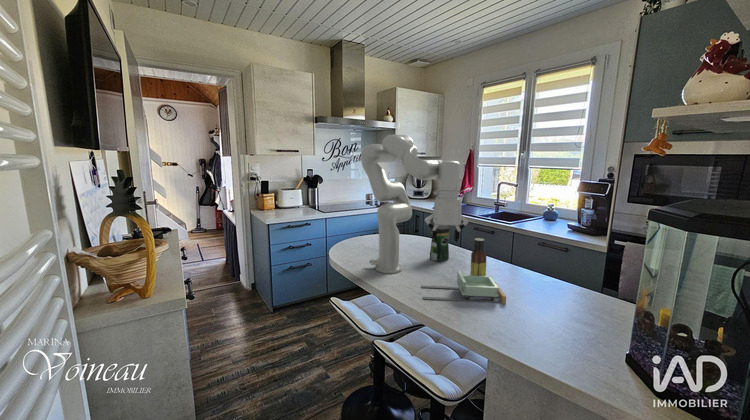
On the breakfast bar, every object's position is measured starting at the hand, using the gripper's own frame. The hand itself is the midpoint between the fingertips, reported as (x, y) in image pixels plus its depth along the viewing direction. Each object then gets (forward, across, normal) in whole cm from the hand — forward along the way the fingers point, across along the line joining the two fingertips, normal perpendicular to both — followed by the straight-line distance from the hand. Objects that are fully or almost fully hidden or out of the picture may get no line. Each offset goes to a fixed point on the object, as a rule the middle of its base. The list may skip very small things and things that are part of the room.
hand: (445, 240), depth 115 cm
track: (+22, +7, 0) cm, 23 cm away
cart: (+22, +13, 0) cm, 25 cm away
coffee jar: (+22, +4, +40) cm, 46 cm away
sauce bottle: (+22, +16, +10) cm, 29 cm away
